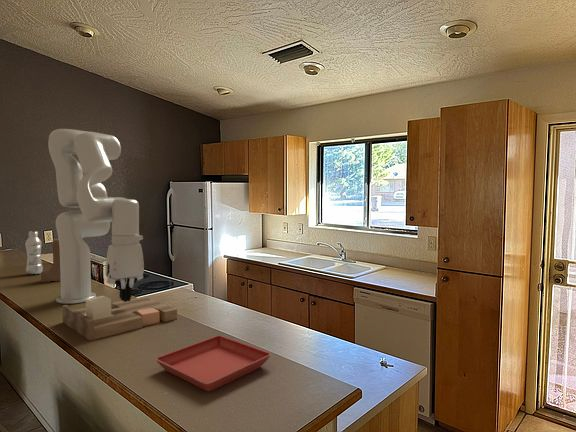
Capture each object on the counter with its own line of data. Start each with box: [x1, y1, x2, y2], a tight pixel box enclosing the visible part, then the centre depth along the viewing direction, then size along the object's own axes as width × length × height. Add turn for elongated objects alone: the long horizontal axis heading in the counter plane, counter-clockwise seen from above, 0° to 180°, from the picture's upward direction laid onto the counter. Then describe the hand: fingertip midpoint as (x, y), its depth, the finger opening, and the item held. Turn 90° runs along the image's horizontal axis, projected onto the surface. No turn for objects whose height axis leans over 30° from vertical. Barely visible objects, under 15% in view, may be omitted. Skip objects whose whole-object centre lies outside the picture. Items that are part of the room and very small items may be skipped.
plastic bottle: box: [24, 231, 44, 275], centre depth 186 cm, size 6×7×20 cm
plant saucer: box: [155, 335, 272, 392], centre depth 86 cm, size 18×18×3 cm
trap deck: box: [61, 296, 178, 341], centre depth 119 cm, size 21×25×5 cm
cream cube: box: [85, 295, 112, 320], centre depth 113 cm, size 5×5×5 cm
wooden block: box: [40, 238, 61, 283], centre depth 173 cm, size 9×4×18 cm, turn 116°
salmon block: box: [137, 308, 161, 327], centre depth 118 cm, size 5×5×4 cm
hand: (125, 300), depth 121 cm, fingers closed
